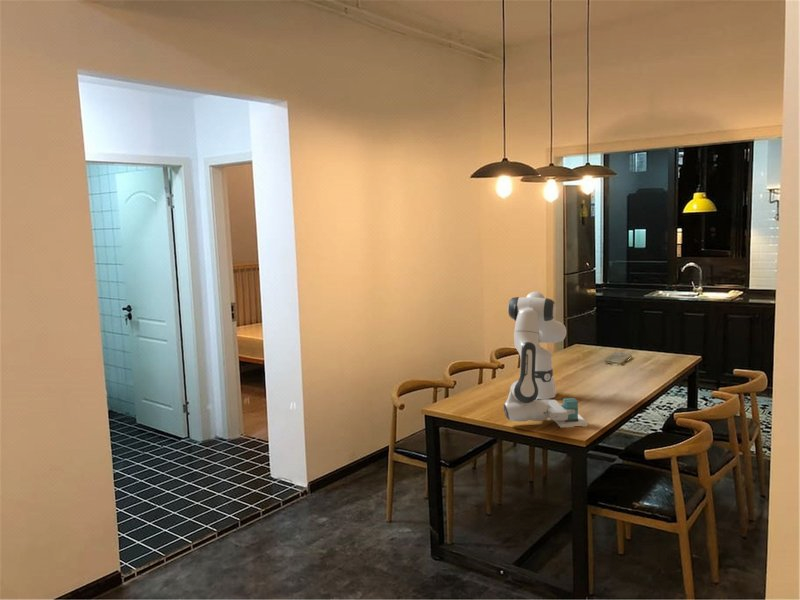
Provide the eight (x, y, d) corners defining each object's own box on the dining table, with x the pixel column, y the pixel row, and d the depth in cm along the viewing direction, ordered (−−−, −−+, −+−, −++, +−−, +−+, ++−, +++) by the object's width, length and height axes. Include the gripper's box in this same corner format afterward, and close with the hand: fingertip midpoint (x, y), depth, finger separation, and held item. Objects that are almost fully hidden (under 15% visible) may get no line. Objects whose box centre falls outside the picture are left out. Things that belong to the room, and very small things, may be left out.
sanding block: (562, 418, 284) (562, 398, 283) (574, 417, 284) (574, 398, 283) (566, 421, 278) (566, 401, 277) (578, 421, 278) (578, 401, 277)
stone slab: (633, 352, 414) (622, 359, 389) (633, 358, 414) (622, 366, 389) (614, 350, 421) (601, 357, 396) (614, 357, 421) (601, 364, 396)
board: (546, 411, 300) (546, 408, 300) (571, 410, 300) (571, 407, 300) (560, 427, 276) (560, 424, 276) (587, 426, 276) (587, 422, 276)
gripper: (547, 410, 270) (579, 408, 270) (535, 397, 290) (566, 396, 290) (547, 424, 270) (579, 423, 271) (536, 410, 291) (566, 409, 291)
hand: (572, 409), depth 280 cm, fingers closed on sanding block, 5 cm apart
